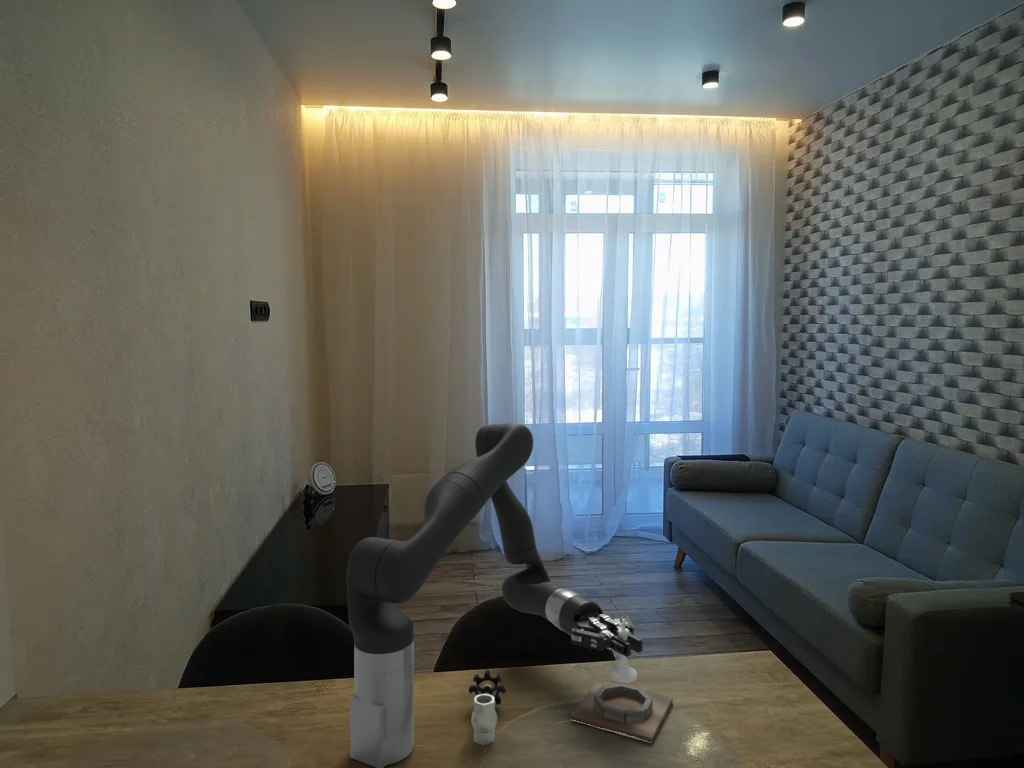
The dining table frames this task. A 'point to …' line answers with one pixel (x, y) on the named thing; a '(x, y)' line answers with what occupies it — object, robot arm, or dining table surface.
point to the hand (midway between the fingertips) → (635, 648)
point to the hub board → (623, 709)
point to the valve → (485, 707)
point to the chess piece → (623, 661)
